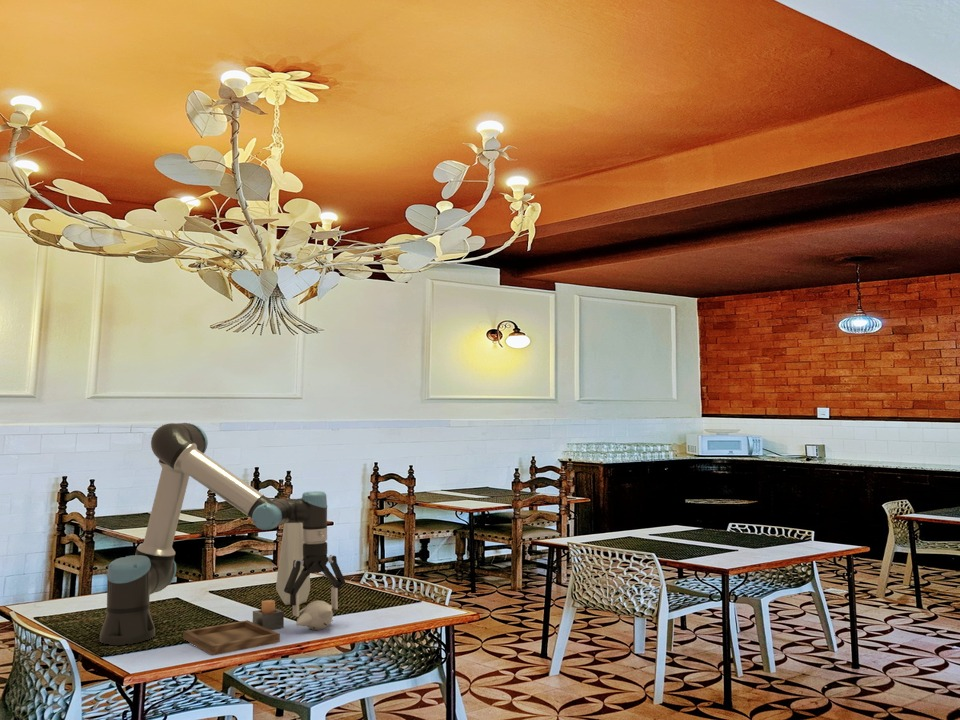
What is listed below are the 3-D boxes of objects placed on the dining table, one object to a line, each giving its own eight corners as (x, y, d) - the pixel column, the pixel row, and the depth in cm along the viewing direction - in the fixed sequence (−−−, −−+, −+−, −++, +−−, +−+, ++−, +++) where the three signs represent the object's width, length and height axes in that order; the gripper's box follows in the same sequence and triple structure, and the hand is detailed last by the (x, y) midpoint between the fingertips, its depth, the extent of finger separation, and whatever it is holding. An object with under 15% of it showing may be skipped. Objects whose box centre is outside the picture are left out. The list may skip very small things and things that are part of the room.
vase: (300, 608, 282) (301, 510, 284) (271, 605, 286) (272, 510, 288) (319, 600, 293) (319, 507, 296) (291, 598, 297) (291, 506, 300)
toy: (306, 637, 259) (293, 639, 245) (297, 610, 262) (284, 610, 247) (345, 621, 260) (335, 622, 246) (336, 594, 263) (326, 593, 248)
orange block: (265, 620, 252) (265, 603, 253) (259, 617, 255) (259, 601, 256) (277, 617, 255) (277, 601, 255) (271, 615, 258) (271, 599, 258)
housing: (262, 631, 250) (262, 615, 250) (252, 627, 255) (252, 611, 256) (283, 627, 255) (283, 611, 255) (273, 623, 260) (273, 607, 260)
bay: (212, 655, 225) (212, 646, 225) (183, 639, 242) (183, 631, 242) (279, 642, 238) (279, 633, 238) (247, 628, 255) (247, 620, 255)
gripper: (284, 547, 244) (284, 621, 243) (355, 538, 260) (356, 607, 259) (272, 545, 250) (272, 616, 248) (343, 536, 266) (344, 603, 264)
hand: (315, 612), depth 253 cm, fingers closed on toy, 13 cm apart
